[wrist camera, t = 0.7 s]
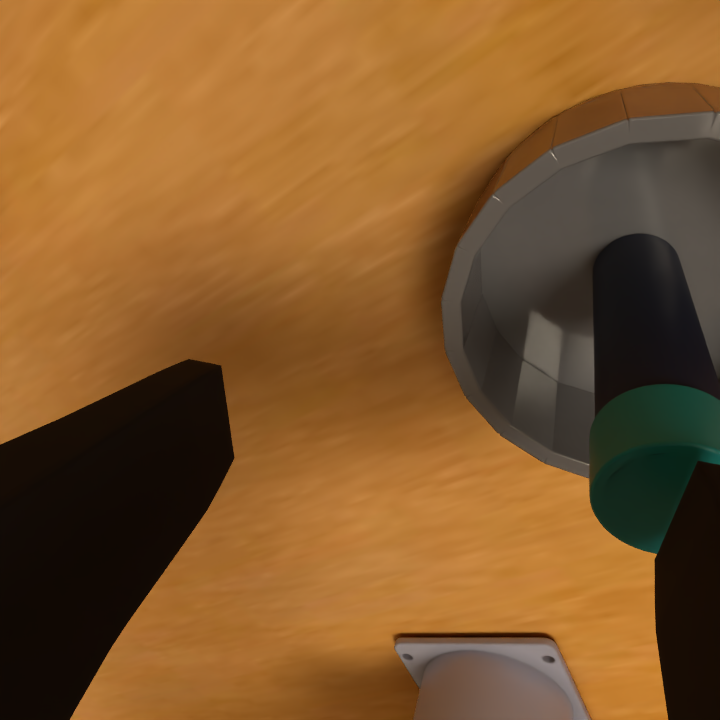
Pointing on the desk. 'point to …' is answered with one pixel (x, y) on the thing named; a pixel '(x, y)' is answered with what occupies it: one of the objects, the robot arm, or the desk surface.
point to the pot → (578, 255)
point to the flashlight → (647, 390)
